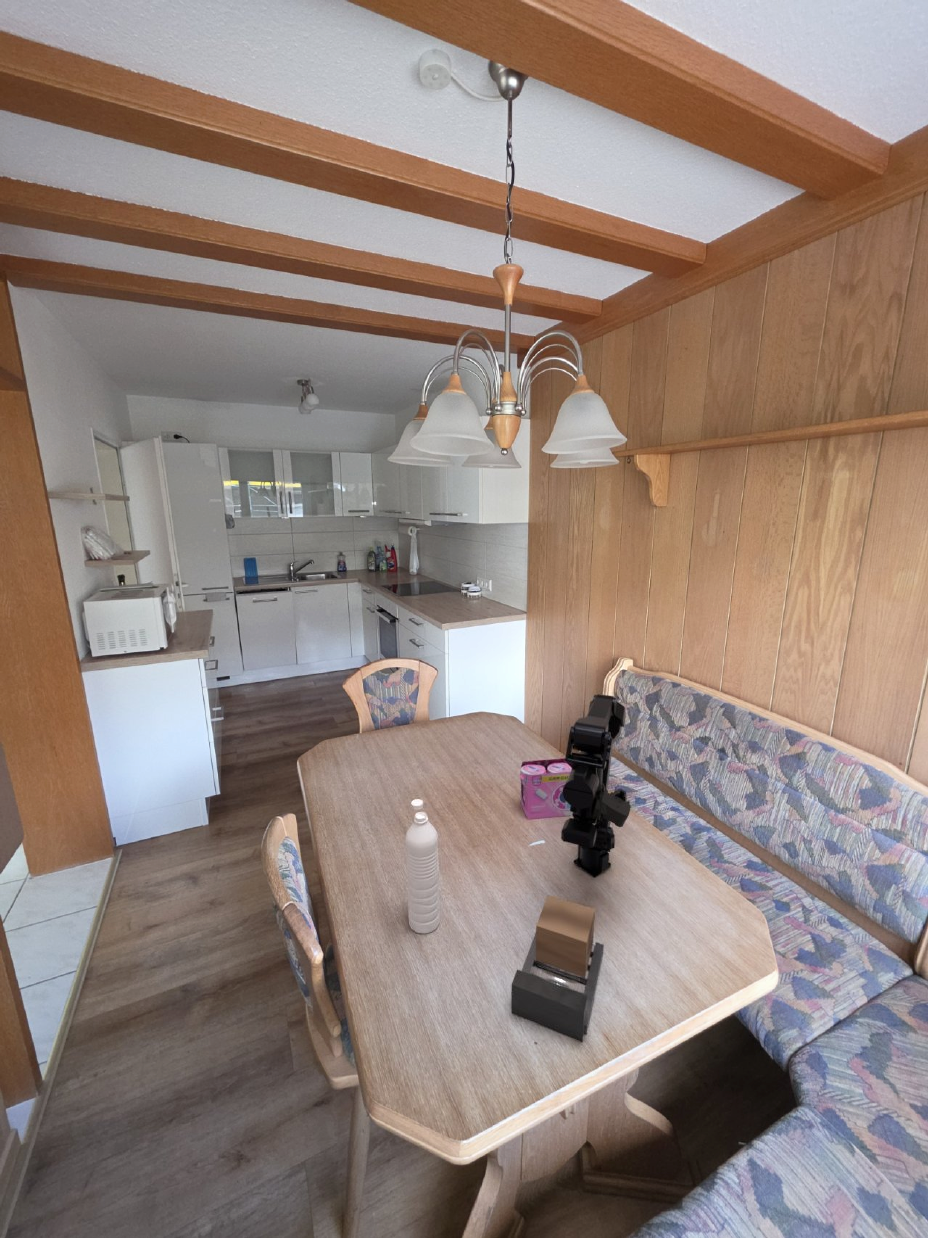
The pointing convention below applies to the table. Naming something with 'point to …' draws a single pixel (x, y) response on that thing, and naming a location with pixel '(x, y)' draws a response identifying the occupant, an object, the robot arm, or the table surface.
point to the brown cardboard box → (565, 935)
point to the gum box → (544, 788)
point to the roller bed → (556, 994)
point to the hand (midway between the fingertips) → (584, 848)
